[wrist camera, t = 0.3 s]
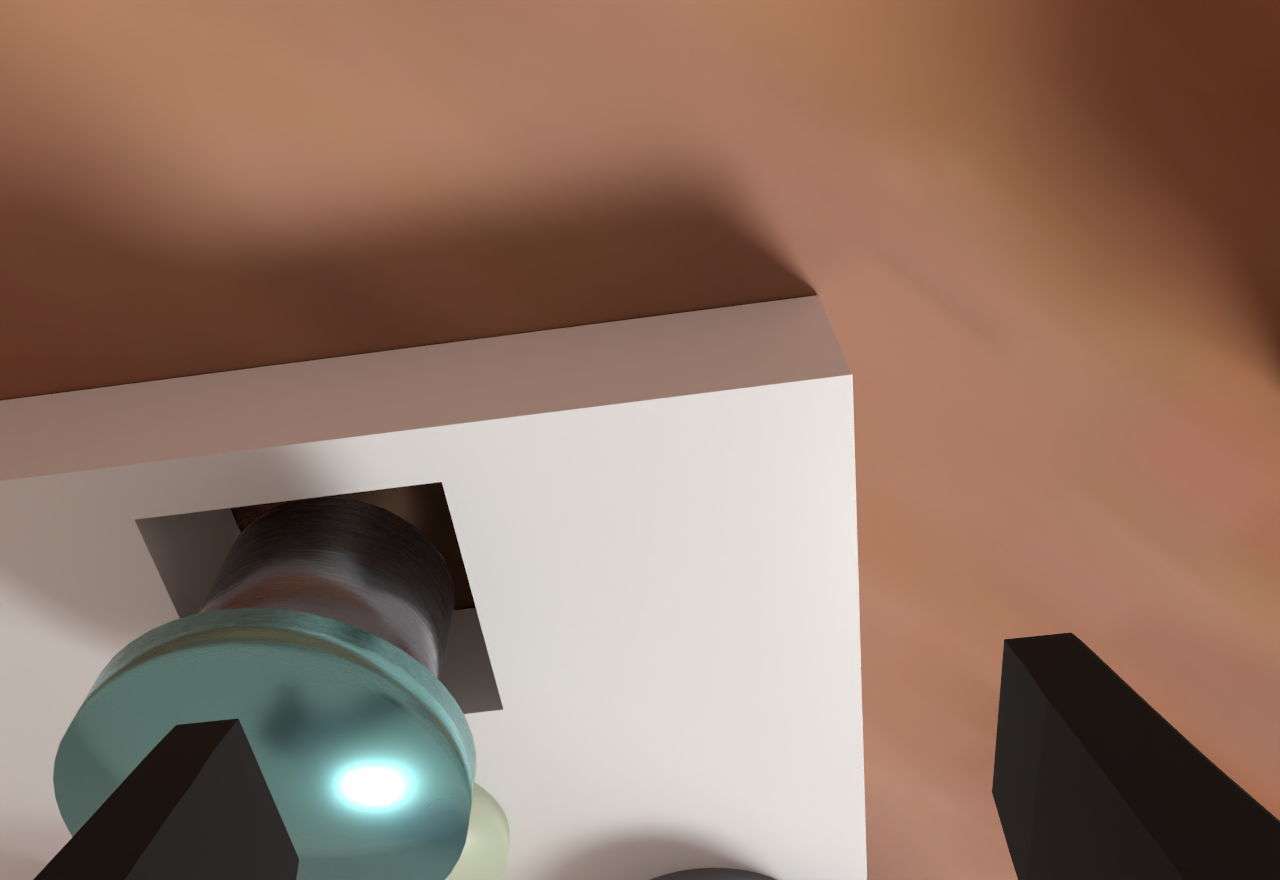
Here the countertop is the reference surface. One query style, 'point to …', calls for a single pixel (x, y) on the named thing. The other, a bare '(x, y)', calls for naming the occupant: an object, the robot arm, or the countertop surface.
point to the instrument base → (505, 575)
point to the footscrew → (306, 692)
